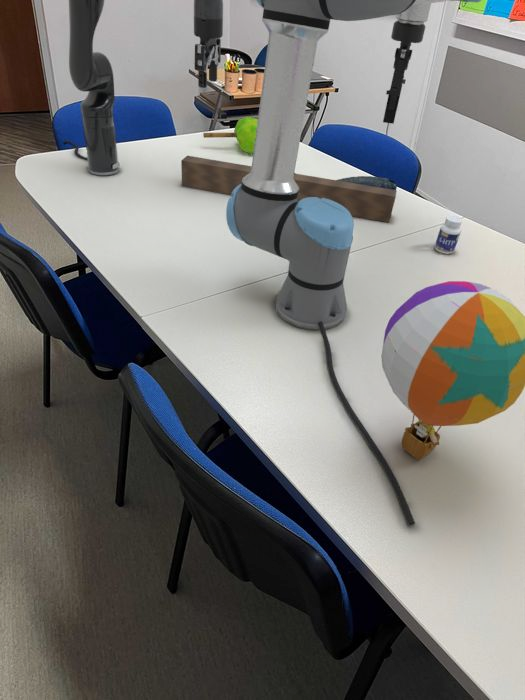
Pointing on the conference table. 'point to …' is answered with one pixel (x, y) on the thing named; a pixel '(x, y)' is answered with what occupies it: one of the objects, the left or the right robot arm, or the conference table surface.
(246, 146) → the decorative tree
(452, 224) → the pill bottle
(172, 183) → the conference table surface
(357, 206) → the beam
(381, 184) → the fish model
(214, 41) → the left robot arm
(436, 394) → the toy
